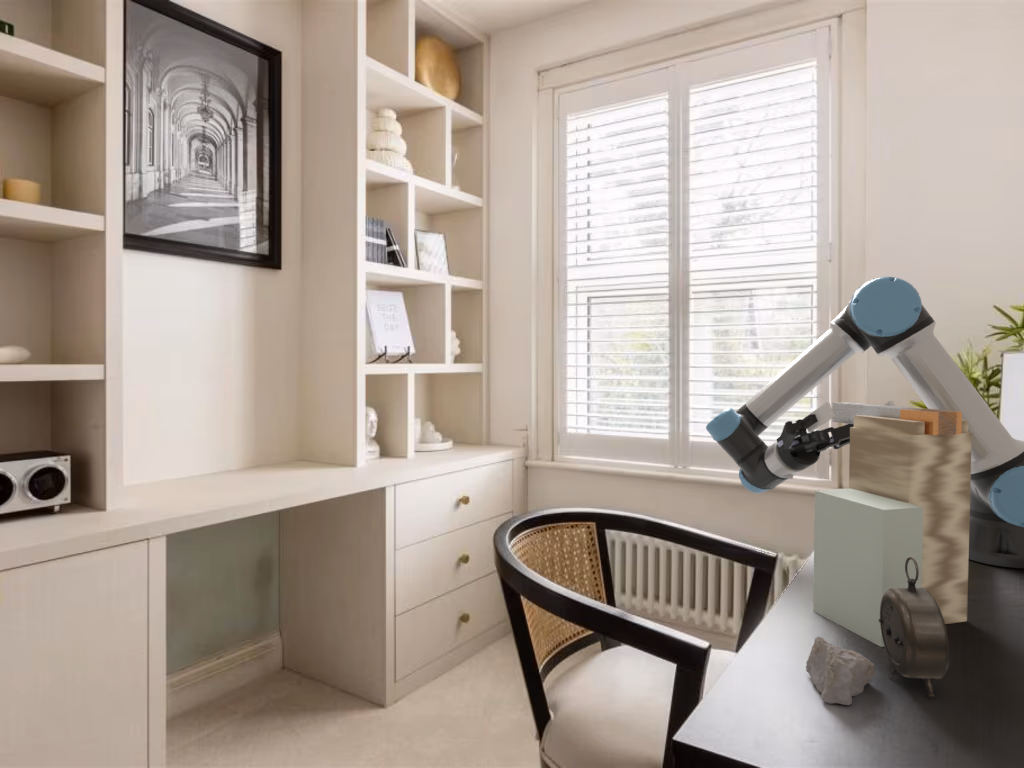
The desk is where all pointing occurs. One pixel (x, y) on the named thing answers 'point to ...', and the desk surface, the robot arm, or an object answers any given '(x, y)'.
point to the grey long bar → (902, 416)
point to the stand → (922, 495)
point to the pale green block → (862, 556)
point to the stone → (838, 672)
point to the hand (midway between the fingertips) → (862, 408)
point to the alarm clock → (914, 632)
